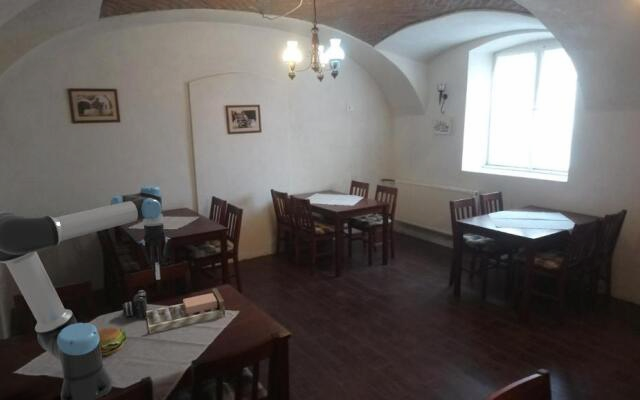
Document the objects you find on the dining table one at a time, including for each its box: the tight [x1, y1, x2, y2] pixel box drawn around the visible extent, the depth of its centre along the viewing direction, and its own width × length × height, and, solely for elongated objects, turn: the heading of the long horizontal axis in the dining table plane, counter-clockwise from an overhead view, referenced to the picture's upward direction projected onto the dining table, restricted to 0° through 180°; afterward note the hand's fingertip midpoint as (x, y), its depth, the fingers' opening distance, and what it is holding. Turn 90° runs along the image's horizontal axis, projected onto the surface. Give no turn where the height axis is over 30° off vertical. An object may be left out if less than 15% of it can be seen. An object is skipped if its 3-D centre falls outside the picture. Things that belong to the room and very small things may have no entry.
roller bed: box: [146, 287, 226, 335], centre depth 193 cm, size 33×17×8 cm, turn 116°
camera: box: [122, 289, 148, 319], centre depth 197 cm, size 14×11×10 cm
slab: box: [182, 292, 218, 314], centre depth 195 cm, size 14×10×4 cm
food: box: [97, 326, 127, 356], centre depth 168 cm, size 14×14×8 cm
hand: (158, 278), depth 174 cm, fingers closed
